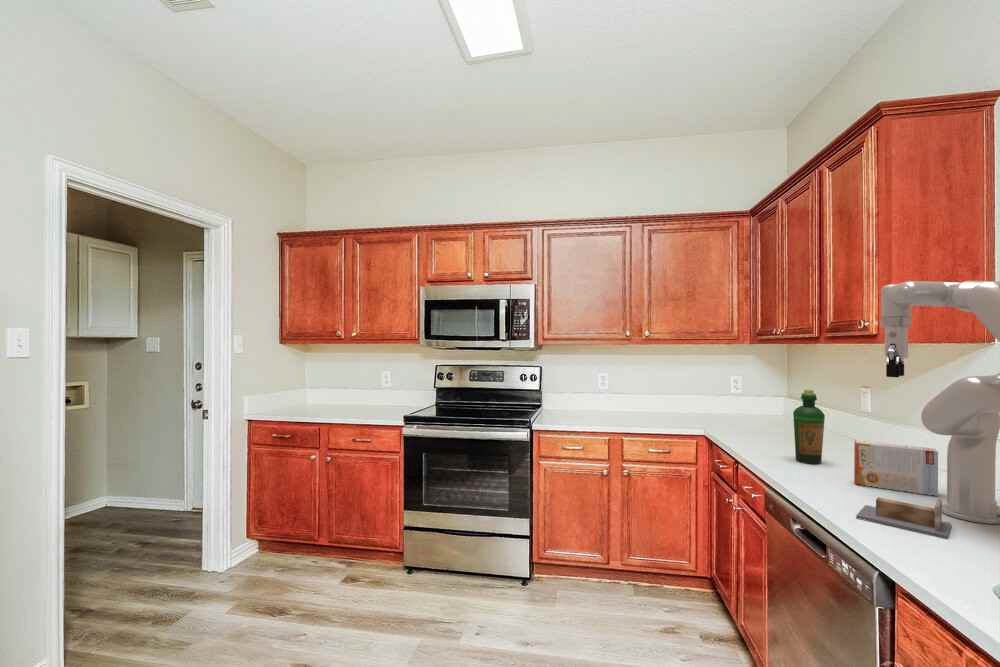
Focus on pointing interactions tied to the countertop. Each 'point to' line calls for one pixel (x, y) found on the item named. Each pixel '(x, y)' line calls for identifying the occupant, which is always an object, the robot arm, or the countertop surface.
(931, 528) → the mat
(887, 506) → the tan boxy piece
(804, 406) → the bottle
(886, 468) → the cracker box
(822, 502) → the countertop surface
